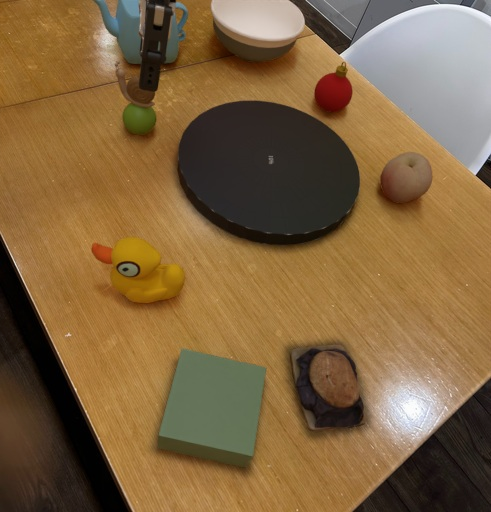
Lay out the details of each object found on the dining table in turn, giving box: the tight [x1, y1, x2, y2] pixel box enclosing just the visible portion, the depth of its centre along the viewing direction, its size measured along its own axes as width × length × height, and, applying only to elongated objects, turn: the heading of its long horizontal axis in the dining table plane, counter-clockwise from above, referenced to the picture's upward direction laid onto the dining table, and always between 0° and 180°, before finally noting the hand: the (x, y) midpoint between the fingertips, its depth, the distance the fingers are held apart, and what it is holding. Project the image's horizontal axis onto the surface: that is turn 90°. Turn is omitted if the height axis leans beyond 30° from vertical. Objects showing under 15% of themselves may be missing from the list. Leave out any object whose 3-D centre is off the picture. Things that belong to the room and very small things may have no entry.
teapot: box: [92, 0, 189, 65], centre depth 92 cm, size 12×18×12 cm
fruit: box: [379, 151, 434, 204], centre depth 82 cm, size 8×8×8 cm
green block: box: [156, 347, 267, 469], centre depth 56 cm, size 10×10×5 cm
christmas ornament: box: [313, 61, 353, 113], centre depth 92 cm, size 7×7×10 cm
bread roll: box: [290, 343, 366, 433], centre depth 61 cm, size 11×8×4 cm
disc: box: [176, 99, 361, 246], centre depth 82 cm, size 30×30×3 cm
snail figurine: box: [114, 60, 157, 136], centre depth 78 cm, size 5×6×12 cm
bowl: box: [210, 0, 306, 63], centre depth 100 cm, size 19×19×8 cm
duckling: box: [90, 236, 186, 304], centre depth 62 cm, size 11×5×10 cm, turn 86°
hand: (147, 72), depth 61 cm, fingers open, 8 cm apart
